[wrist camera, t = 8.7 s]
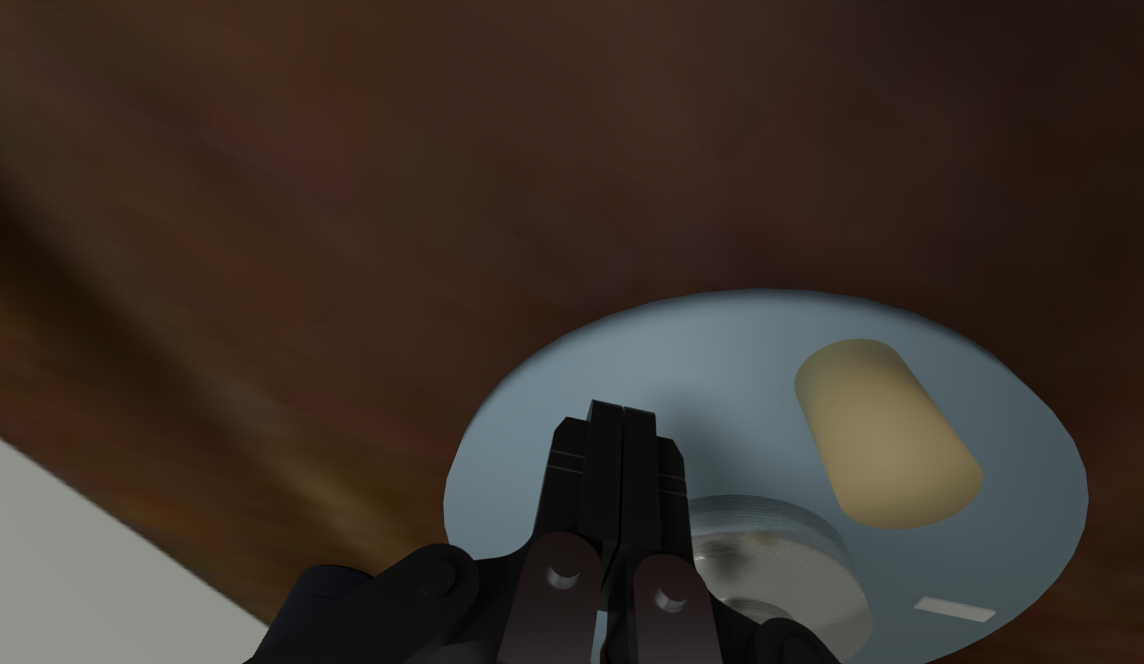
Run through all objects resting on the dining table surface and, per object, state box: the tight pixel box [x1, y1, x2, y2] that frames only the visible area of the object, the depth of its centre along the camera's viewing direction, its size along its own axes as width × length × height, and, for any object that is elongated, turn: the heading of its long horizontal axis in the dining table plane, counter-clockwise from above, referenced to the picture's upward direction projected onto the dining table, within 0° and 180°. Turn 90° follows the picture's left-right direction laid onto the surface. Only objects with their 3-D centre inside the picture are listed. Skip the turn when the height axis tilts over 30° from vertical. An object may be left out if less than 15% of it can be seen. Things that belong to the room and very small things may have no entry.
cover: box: [688, 495, 873, 663], centre depth 19 cm, size 9×9×4 cm
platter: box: [443, 288, 1089, 664], centre depth 19 cm, size 24×24×6 cm
